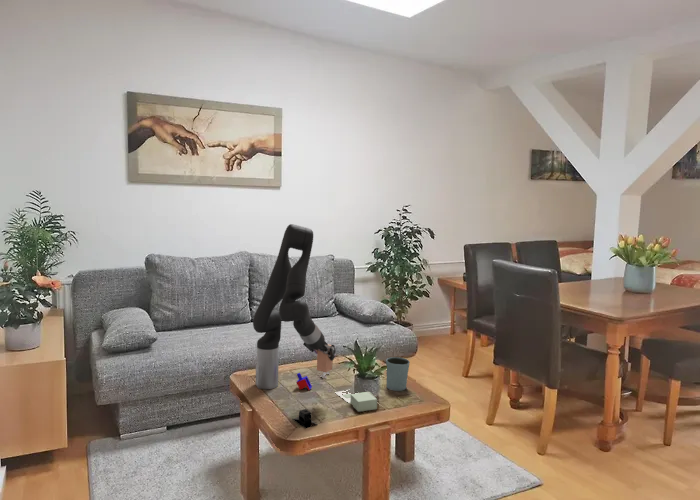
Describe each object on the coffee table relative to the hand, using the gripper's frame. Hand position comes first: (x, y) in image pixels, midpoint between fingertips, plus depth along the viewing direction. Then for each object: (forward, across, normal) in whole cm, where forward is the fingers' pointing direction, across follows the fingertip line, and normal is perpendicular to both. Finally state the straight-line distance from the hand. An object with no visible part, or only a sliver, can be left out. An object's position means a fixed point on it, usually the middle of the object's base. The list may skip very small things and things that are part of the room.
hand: (327, 357), depth 209 cm
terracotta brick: (+2, 0, +5) cm, 5 cm away
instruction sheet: (+18, -7, +7) cm, 21 cm away
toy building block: (+16, +14, +10) cm, 23 cm away
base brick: (+14, -16, +11) cm, 24 cm away
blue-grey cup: (+33, -18, -8) cm, 38 cm away
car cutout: (+26, +14, +1) cm, 29 cm away
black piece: (-2, -5, +28) cm, 29 cm away
